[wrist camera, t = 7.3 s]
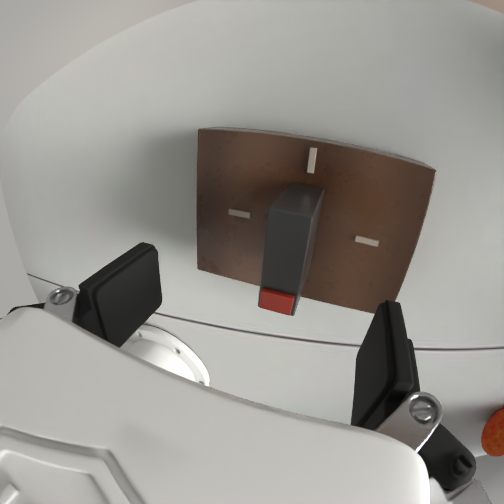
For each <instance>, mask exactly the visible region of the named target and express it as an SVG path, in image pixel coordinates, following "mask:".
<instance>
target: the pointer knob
mask: <svg viewBox="0 0 504 504" xmlns="http://www.w3.org/2000/svg"><path fill="white" fill-rule="evenodd" d="M323 194H324V188H321V187H316V186H311V185H306V184H300V183H295V182H293V183H292V184H291V185H290V186H289V187H288V188H287V189H286V190H285V191H284V192H283V193H282V195H281V196H280V197H279V198H278V199H277V200H276V201H275V202H274V203H273V204H272V205H271V206H270V207H269V209H268V217H267V226H266V236H265V246H264V255H263V264H262V274H261V283H260V292H259V301H258V307H260V308H263V309H267V310H271V311H274V312H278V313H282V314H286V315H292V316H293V315H294V314H295V311H296V308H297V305H298V302H299V299H300V296H301V293H302V290H303V287H304V284H305V281H306V278H307V274H308V271H309V268H310V264H311V260H312V255H313V249H314V244H315V239H316V234H317V228H318V223H319V217H320V212H321V206H322V200H323Z"/></svg>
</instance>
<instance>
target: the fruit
mask: <svg viewBox="0 0 504 504" xmlns="http://www.w3.org/2000/svg"><path fill="white" fill-rule="evenodd" d="M481 442H482V447H483V449H484V451H485V452H486V453H487V454H489V455H491V456H502V455H504V408H503V409H500V410H499V411H497V412H496V413H495V414H493V415H492V416H491V417H490V419H489V420H488V421H487V423H486V424H485V426H484V429H483V432H482V437H481Z"/></svg>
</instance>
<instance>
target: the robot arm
mask: <svg viewBox="0 0 504 504" xmlns="http://www.w3.org/2000/svg"><path fill="white" fill-rule="evenodd" d="M79 289H80V293H78V294H77V291H76V290H75V289H74V288H72V287H60V288H58V289H55V290H54V291H52V292H51V293H50V294H49V295H48V297H47V299H46V302H45V303H40V304H33V305H27V306H20V307H14V308H13V309H11V310H10V312H9V313H8V314H7V315H6V316H5V317H4V318H0V504H491V502H490V500H489V498H488V496H487V493H486V491H485V489H484V487H483V485H482V483H481V481H480V479H479V478H477V479H476V480H475V478H474V474H475V470H476V461H475V458H474V456H473V455H472V453H471V452H470V451H469V450H468V449H467V448H466V447H465V446H464V445H463V444H462V443H461V442H460V441H458V440H457V439H456V438H455V437H454V436H453V435H452V434H451V433H450V432H449V431H448V430H447V429H446V428H445V427H444V426H443V425H442V424H441V423H440V421H441V419H442V416H443V410H442V406H441V404H440V402H439V401H438V400H437V399H436V398H435V397H434V396H433V395H431V394H429V393H426V392H420V385H419V378H418V371H417V365H416V359H415V353H414V348H413V343H412V340H411V339H407V333H406V328H405V323H404V318H403V314H402V309H401V305H400V303H399V302H394V301H390V300H385V302H384V303H380V304H379V305H378V308H377V310H376V313H375V315H374V318H373V320H372V322H371V325H370V327H369V329H368V332H367V334H366V336H365V338H364V341H363V343H362V345H361V347H360V349H359V351H358V354H357V358H356V370H355V386H354V398H353V409H352V418H351V425H347V424H342V423H338V422H333V421H328V420H324V419H319V418H314V417H310V416H306V415H302V414H297V413H294V412H290V411H286V410H282V409H278V408H274V407H270V406H267V405H263V404H260V403H256V402H253V401H250V400H247V399H243V398H240V397H237V396H234V395H231V394H228V393H225V392H222V391H219V390H216V389H214V388H211V387H208V386H209V384H210V378H209V374H208V372H207V370H206V368H205V366H204V364H203V363H202V362H201V360H200V359H199V358H198V356H197V355H196V354H195V353H194V352H193V351H192V350H191V349H190V348H189V347H187V346H186V345H185V344H184V343H183V342H181V341H180V340H179V339H177V338H176V337H174V336H172V335H171V334H169V333H167V332H165V331H163V330H161V329H159V328H156V327H153V326H148V325H142V324H143V323H144V322H145V321H146V320H147V319H148V318H149V317H150V316H151V315H152V314H153V313H154V312H155V311H156V310H157V309H158V308H159V307H160V305H161V303H162V292H161V283H160V273H159V262H158V251H157V250H156V249H155V246H154V245H151V244H148V243H144V242H142V243H139V244H138V245H136V246H135V247H133V248H132V249H130V250H129V251H127V252H126V253H124V254H123V255H121V256H120V257H118V258H117V259H115V260H114V261H112V262H111V263H109V264H108V265H106V266H105V267H104V268H102V269H101V270H99V271H98V272H96V273H95V274H93V275H92V276H91V277H89V278H88V279H86V280H85V281H84V282H82V283H81V284H79ZM124 343H125V344H124ZM123 344H124V345H123Z"/></svg>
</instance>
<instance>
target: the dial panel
mask: <svg viewBox="0 0 504 504" xmlns="http://www.w3.org/2000/svg"><path fill="white" fill-rule="evenodd" d="M435 176H436V170H435V169H433V168H431V167H430V166H428V165H426V164H425V163H423V162H420V161H416V160H413V159H409V158H406V157H402V156H399V155H395V154H391V153H387V152H384V151H380V150H375V149H371V148H367V147H363V146H358V145H353V144H349V143H344V142H339V141H333V140H328V139H322V138H316V137H310V136H304V135H297V134H290V133H282V132H274V131H265V130H256V129H244V128H231V127H212V128H202V129H199V130H198V153H197V268H198V270H202V271H206V272H209V273H213V274H216V275H220V276H224V277H228V278H231V279H235V280H239V281H242V282H246V283H250V284H254V285H258V286H260V283H261V274H262V264H263V255H264V246H265V236H266V226H267V217H268V209H269V207H270V206H271V205H272V204H273V203H274V202H275V201H276V200H277V199H278V198H279V197H280V196H281V195H282V193H283V192H284V191H285V190H286V189H287V188H288V187H289V186H290V185H291V184H292V183H293V182H295V183H300V184H306V185H311V186H316V187H321V188H324V194H323V200H322V206H321V212H320V217H319V223H318V228H317V234H316V239H315V244H314V249H313V255H312V260H311V264H310V268H309V271H308V274H307V278H306V281H305V284H304V287H303V290H302V293H301V297H305V298H309V299H313V300H318V301H322V302H326V303H330V304H334V305H339V306H343V307H347V308H352V309H356V310H360V311H365V312H369V313H374V314H375V313H376V310H377V308H378V305H379V304H380V303H384V302H385V300H390V301H394V302H395V300H396V298H397V296H398V293H399V291H400V288H401V286H402V283H403V281H404V278H405V276H406V273H407V270H408V268H409V265H410V262H411V259H412V257H413V254H414V251H415V248H416V245H417V242H418V239H419V236H420V232H421V229H422V226H423V223H424V219H425V216H426V212H427V209H428V205H429V201H430V197H431V193H432V189H433V185H434V181H435Z"/></svg>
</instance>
